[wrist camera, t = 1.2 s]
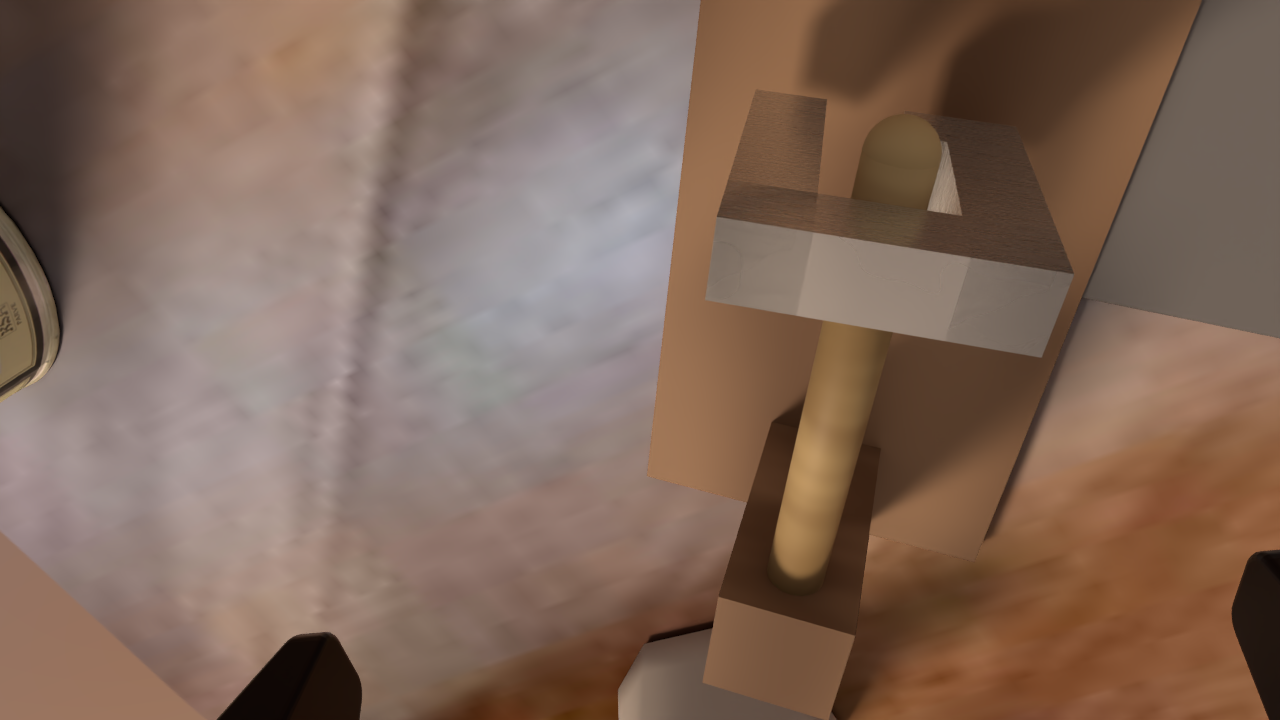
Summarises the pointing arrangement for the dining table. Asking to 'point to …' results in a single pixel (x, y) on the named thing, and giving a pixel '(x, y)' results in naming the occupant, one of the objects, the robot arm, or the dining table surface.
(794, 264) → the slotted rectangular block
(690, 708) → the flask
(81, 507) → the dining table surface
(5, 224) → the coffee can
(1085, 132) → the link stand
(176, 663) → the dining table surface
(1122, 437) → the dining table surface
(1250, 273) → the slate coaster
